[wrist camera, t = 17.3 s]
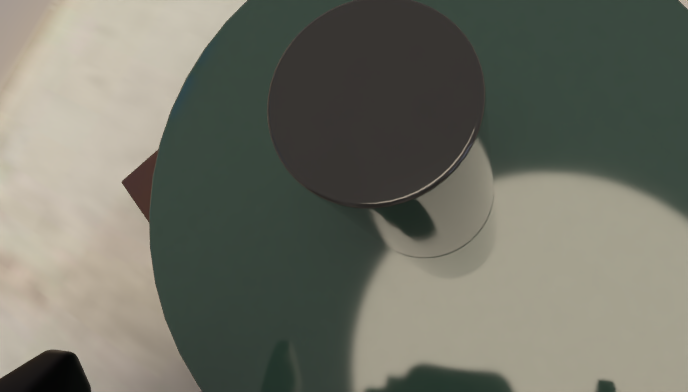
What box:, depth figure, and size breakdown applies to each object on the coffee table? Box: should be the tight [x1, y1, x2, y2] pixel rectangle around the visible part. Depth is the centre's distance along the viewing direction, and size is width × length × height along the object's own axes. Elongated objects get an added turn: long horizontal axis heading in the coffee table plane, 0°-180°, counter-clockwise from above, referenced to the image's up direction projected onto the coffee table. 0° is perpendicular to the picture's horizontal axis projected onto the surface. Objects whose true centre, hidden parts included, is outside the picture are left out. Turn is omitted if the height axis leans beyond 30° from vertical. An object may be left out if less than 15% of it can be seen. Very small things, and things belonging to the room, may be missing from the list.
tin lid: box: [149, 0, 688, 392], centre depth 12 cm, size 14×14×7 cm
